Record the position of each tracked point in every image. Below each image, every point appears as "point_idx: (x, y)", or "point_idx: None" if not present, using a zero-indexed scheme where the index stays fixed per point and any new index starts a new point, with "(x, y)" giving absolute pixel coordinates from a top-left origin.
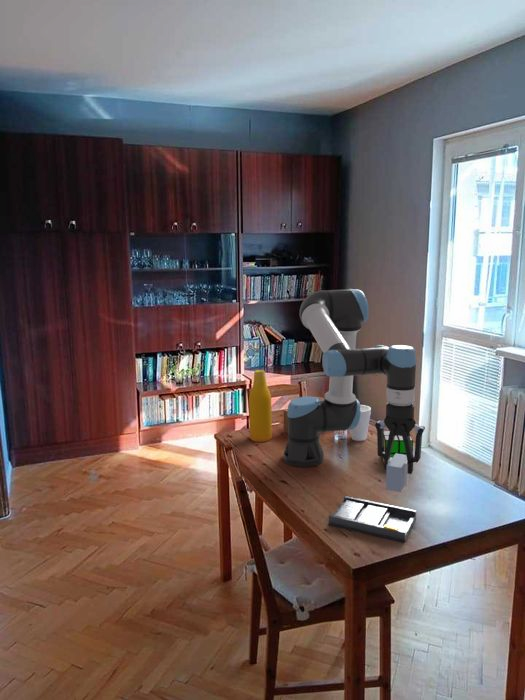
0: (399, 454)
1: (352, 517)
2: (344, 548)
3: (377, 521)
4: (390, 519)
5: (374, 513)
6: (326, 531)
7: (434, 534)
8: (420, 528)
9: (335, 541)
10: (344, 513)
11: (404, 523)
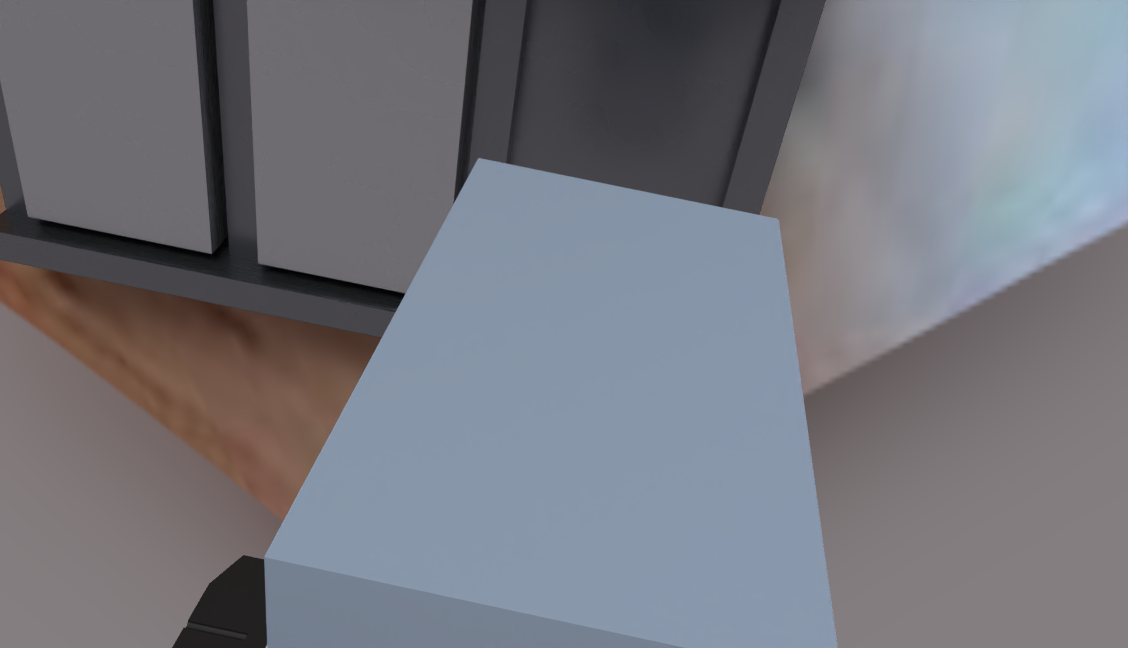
0: (422, 631)
1: (189, 206)
2: (295, 472)
3: (435, 229)
4: (553, 39)
5: (367, 73)
6: (82, 302)
7: (1012, 159)
8: (880, 72)
9: (205, 410)
10: (86, 146)
11: (708, 91)
